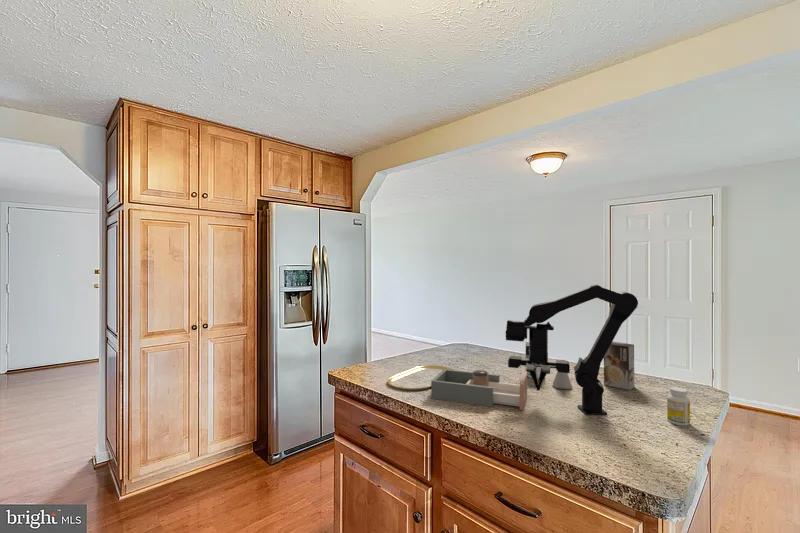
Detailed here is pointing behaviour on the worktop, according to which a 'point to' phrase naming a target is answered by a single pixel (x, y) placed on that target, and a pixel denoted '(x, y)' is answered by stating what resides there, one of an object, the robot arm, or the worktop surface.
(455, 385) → the dock
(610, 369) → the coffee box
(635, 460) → the worktop surface
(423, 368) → the gold oval hoop
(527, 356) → the syrup box
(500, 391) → the tray
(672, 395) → the supplement bottle
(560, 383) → the flask
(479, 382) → the spice jar
